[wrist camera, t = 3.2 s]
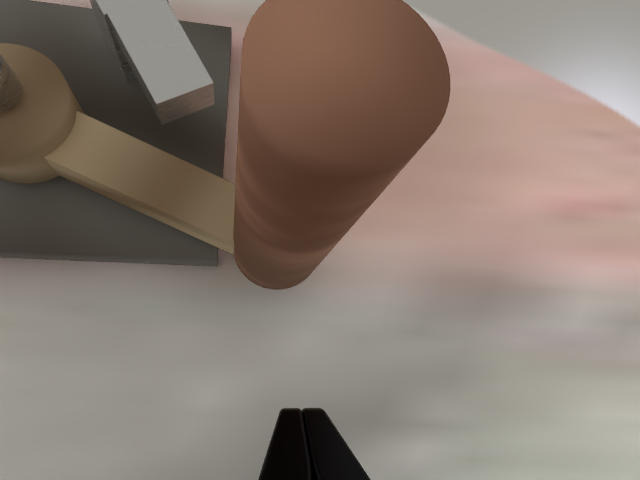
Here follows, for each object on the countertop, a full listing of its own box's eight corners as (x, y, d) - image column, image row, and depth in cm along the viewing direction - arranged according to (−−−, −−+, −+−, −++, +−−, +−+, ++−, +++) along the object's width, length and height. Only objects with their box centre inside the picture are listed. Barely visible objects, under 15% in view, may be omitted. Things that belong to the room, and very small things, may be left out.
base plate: (217, 266, 17) (216, 260, 16) (-64, 254, 15) (-83, 246, 14) (231, 44, 19) (231, 27, 18) (-8, 13, 18) (-21, -7, 17)
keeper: (213, 172, 17) (207, 82, 12) (9, 156, 16) (-101, 48, 10) (223, 31, 18) (221, -103, 13) (38, 6, 17) (-44, -152, 12)
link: (-56, 153, 15) (-572, -241, 5) (11, 68, 16) (-312, -383, 6) (295, 311, 16) (404, 220, 6) (335, 220, 17) (479, 21, 7)
